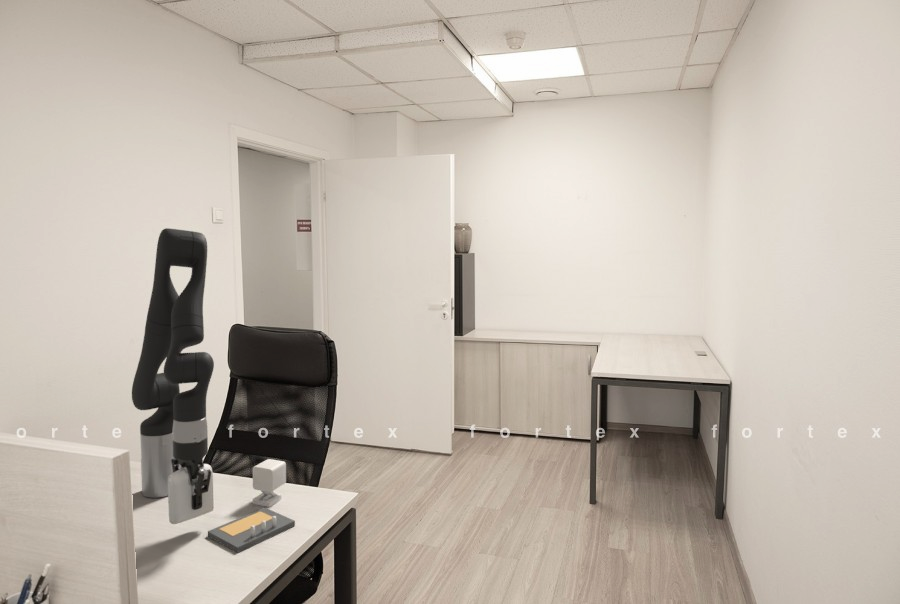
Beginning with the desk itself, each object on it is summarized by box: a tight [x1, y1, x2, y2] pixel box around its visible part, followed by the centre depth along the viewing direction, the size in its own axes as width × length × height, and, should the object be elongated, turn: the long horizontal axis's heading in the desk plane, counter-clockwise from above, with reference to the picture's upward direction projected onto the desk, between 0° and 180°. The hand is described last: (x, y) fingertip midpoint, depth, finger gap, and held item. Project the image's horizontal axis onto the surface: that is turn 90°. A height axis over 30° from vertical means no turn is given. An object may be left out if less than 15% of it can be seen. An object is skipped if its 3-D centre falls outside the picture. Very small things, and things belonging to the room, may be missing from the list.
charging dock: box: [207, 506, 296, 553], centre depth 140 cm, size 12×16×4 cm
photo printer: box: [167, 463, 215, 525], centre depth 138 cm, size 10×4×12 cm, turn 139°
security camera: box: [252, 458, 287, 508], centre depth 157 cm, size 6×7×10 cm
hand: (191, 505), depth 138 cm, fingers closed on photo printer, 4 cm apart
